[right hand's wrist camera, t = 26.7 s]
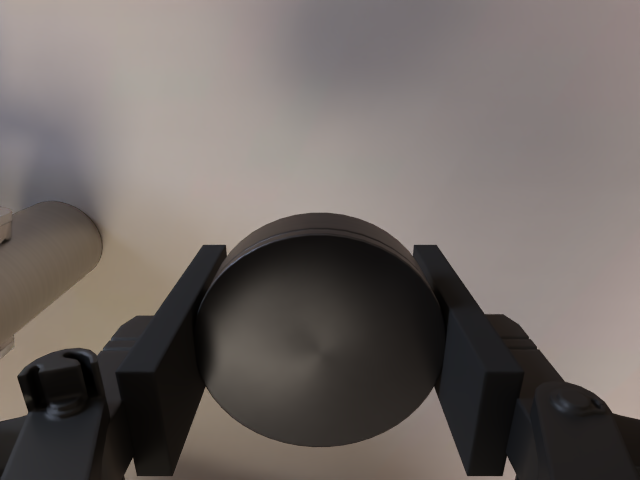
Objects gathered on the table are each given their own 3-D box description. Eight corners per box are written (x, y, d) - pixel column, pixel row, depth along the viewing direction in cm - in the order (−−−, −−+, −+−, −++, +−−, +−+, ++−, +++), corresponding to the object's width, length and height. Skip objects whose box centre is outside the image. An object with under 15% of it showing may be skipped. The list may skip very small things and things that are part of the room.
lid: (428, 398, 13) (442, 441, 12) (227, 409, 13) (214, 453, 12) (433, 203, 11) (451, 224, 9) (191, 220, 11) (169, 243, 10)
